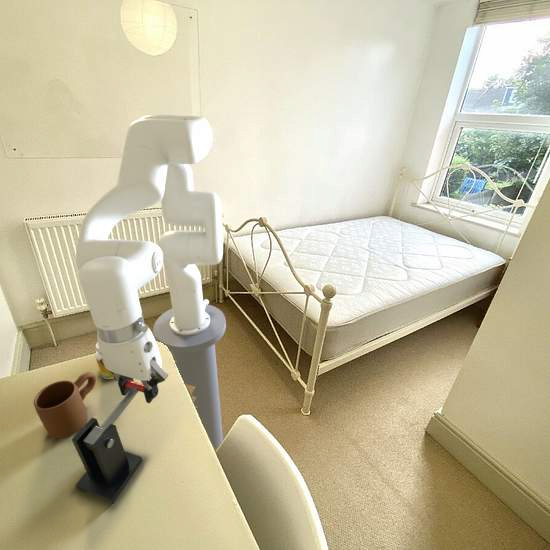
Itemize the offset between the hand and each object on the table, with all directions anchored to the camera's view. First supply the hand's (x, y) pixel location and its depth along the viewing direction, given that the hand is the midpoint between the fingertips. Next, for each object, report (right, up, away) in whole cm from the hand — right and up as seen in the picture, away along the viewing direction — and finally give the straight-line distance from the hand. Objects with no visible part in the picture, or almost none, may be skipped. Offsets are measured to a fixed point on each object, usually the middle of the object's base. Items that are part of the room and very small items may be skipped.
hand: (140, 393), depth 63 cm
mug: (-17, -7, +6) cm, 19 cm away
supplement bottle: (-15, -1, +17) cm, 23 cm away
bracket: (-4, -14, -5) cm, 15 cm away
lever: (-2, -2, -5) cm, 6 cm away
